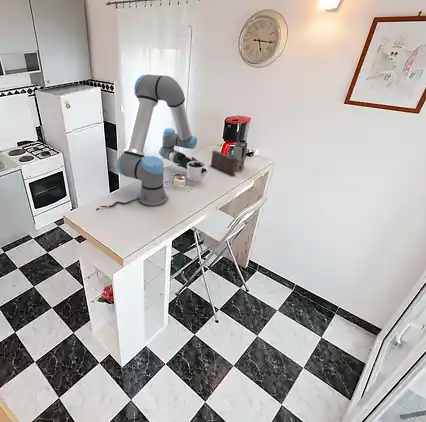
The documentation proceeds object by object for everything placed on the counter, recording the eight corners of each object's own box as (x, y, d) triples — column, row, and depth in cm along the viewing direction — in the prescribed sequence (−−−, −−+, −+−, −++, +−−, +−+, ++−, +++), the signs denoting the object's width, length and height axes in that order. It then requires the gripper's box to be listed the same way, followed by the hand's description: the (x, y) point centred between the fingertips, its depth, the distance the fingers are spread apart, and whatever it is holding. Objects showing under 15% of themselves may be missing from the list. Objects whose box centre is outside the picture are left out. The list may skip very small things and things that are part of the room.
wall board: (210, 166, 192) (211, 151, 186) (213, 165, 193) (214, 150, 187) (231, 176, 178) (234, 160, 173) (235, 175, 180) (237, 159, 174)
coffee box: (240, 172, 182) (244, 147, 174) (229, 170, 185) (233, 146, 177) (243, 166, 189) (248, 142, 180) (233, 164, 192) (237, 141, 183)
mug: (182, 177, 173) (183, 164, 168) (193, 171, 178) (194, 159, 174) (201, 184, 164) (202, 170, 160) (212, 178, 169) (213, 165, 165)
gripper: (186, 160, 187) (213, 173, 170) (168, 166, 181) (194, 179, 164) (186, 149, 183) (214, 161, 166) (168, 155, 177) (195, 167, 160)
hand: (204, 170), depth 165 cm, fingers closed on mug, 2 cm apart
